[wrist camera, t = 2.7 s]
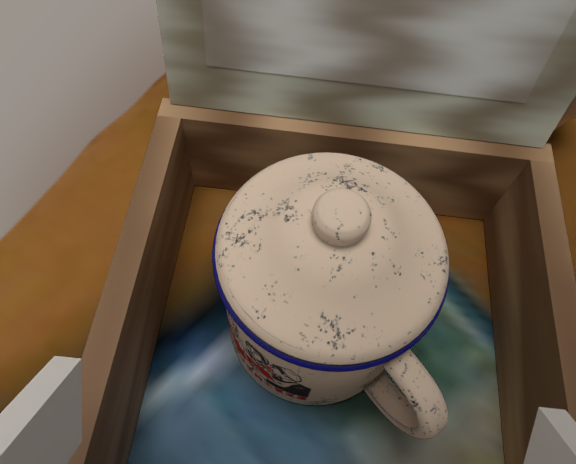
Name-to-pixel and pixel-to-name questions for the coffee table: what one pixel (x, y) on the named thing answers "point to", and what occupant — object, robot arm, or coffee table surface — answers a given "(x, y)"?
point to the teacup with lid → (335, 285)
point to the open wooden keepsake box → (366, 144)
